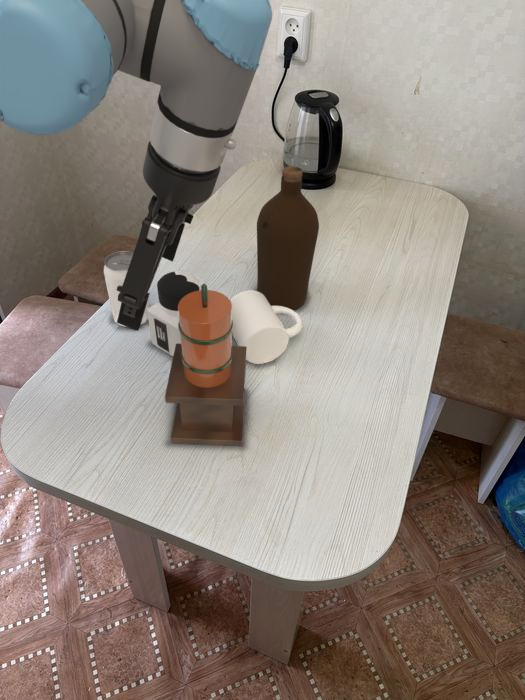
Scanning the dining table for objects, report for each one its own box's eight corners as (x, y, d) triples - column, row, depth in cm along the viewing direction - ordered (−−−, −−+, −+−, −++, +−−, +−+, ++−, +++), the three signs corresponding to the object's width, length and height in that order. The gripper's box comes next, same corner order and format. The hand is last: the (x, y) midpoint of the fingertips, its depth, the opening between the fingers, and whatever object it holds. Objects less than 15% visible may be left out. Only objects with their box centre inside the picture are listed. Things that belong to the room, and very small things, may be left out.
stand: (171, 443, 71) (164, 396, 64) (180, 390, 78) (175, 343, 71) (242, 446, 71) (243, 400, 64) (245, 393, 78) (246, 346, 71)
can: (118, 304, 93) (107, 248, 84) (153, 306, 93) (146, 250, 84) (109, 327, 88) (96, 270, 80) (146, 329, 88) (137, 272, 80)
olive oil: (298, 320, 92) (314, 191, 74) (245, 304, 94) (248, 176, 77) (316, 288, 99) (334, 164, 82) (266, 275, 101) (273, 151, 84)
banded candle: (179, 387, 65) (170, 301, 56) (186, 351, 70) (178, 266, 60) (231, 389, 65) (231, 304, 56) (234, 353, 70) (234, 269, 60)
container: (184, 364, 82) (178, 301, 73) (151, 344, 85) (141, 281, 76) (215, 340, 87) (213, 278, 78) (182, 321, 90) (177, 259, 81)
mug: (242, 369, 82) (243, 332, 77) (223, 330, 89) (222, 294, 83) (309, 353, 86) (314, 316, 80) (286, 317, 92) (289, 281, 87)
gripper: (184, 242, 43) (141, 371, 59) (247, 113, 59) (200, 242, 75) (100, 205, 42) (79, 347, 58) (188, 84, 58) (152, 221, 74)
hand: (147, 288), depth 67 cm, fingers open, 13 cm apart
